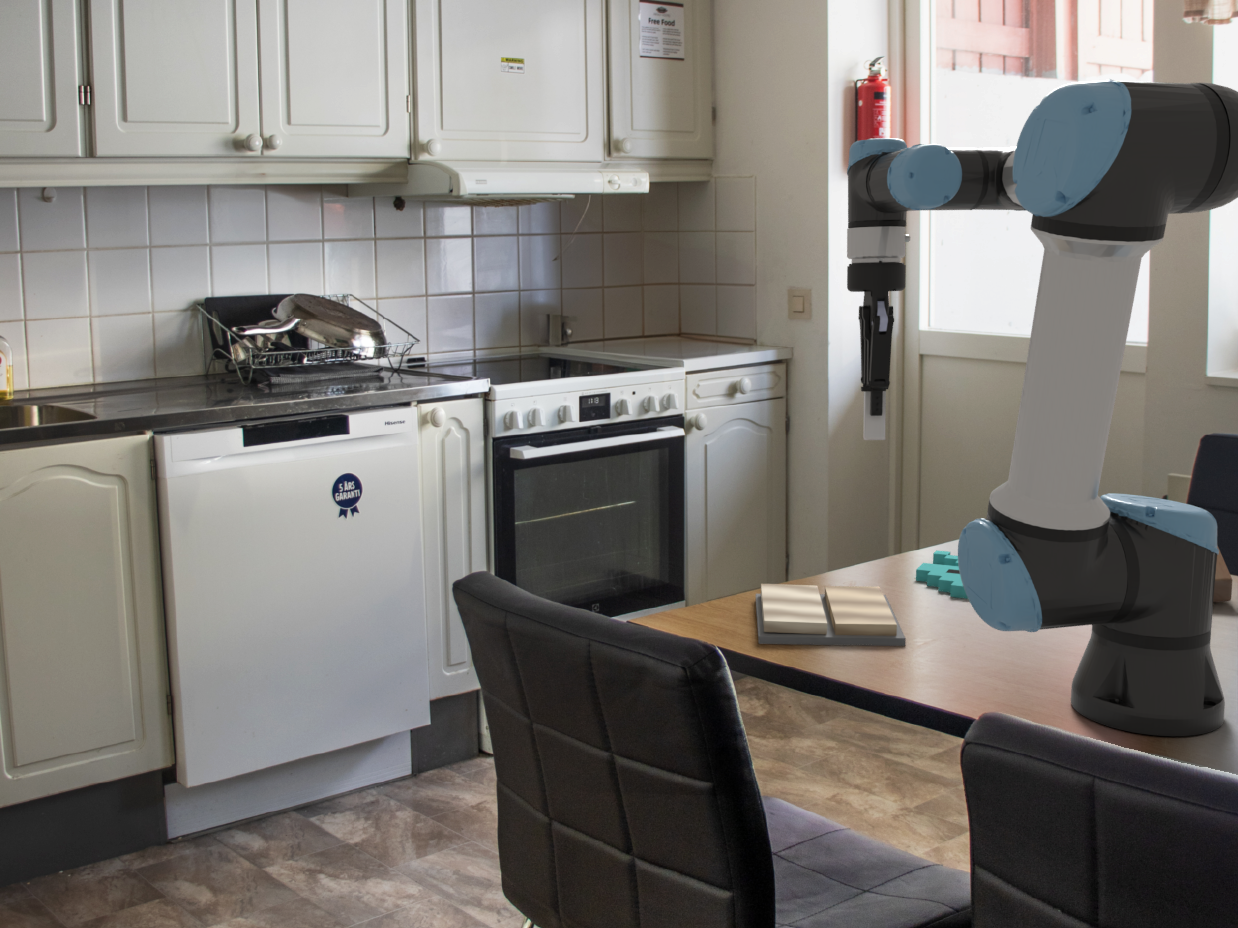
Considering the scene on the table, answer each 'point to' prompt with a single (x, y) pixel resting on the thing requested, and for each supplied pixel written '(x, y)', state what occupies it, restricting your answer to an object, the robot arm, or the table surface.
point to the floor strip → (859, 611)
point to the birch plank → (792, 609)
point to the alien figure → (942, 574)
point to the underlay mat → (825, 638)
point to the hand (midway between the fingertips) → (874, 439)
